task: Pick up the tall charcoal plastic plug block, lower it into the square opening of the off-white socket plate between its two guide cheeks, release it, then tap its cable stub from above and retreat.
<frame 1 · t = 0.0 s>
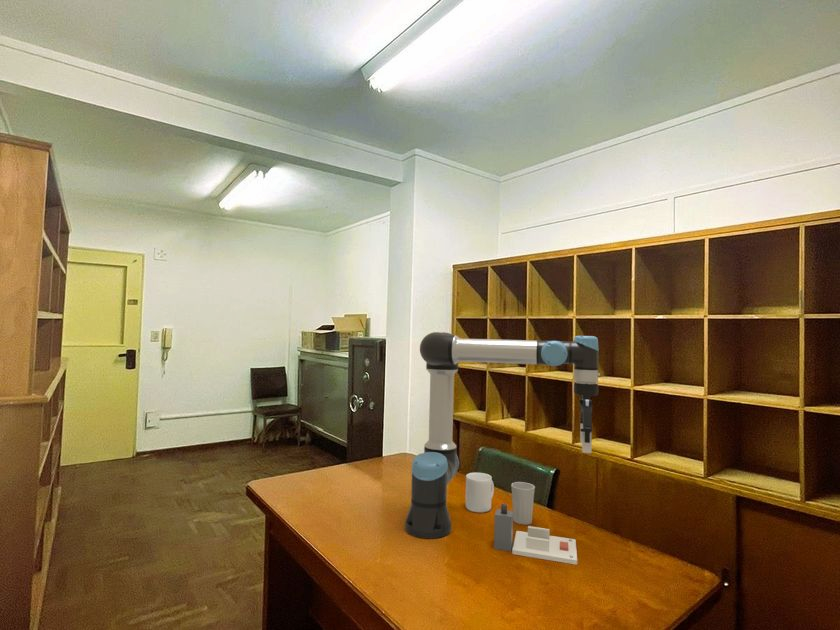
hand: (585, 447, 147), 28 cm above the table, fingers open, 13 cm apart
plug: (503, 546, 136), on the table
socket: (544, 548, 135), on the table
cup: (522, 521, 156), on the table
mug: (480, 507, 167), on the table
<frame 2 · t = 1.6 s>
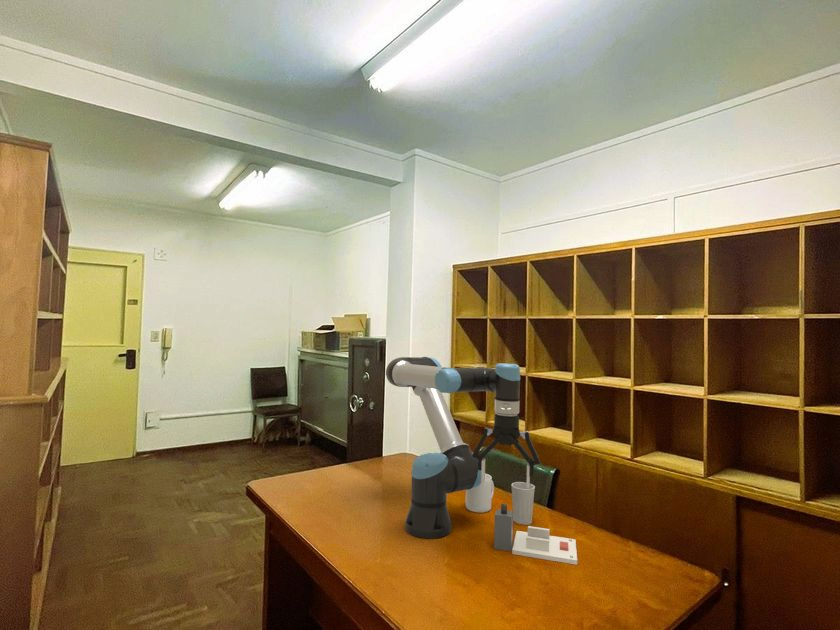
hand: (505, 483, 137), 19 cm above the table, fingers open, 13 cm apart
nothing on the table moved.
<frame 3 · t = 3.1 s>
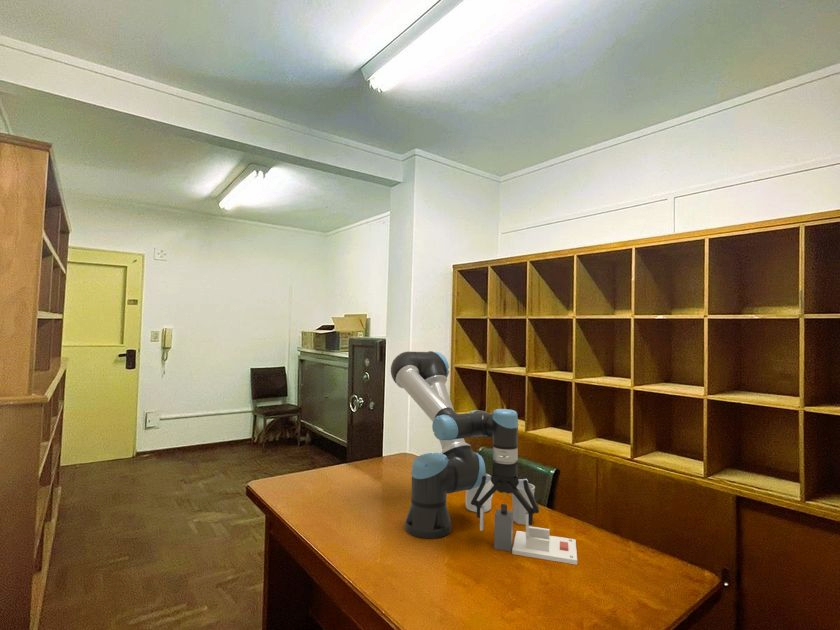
hand: (504, 532, 136), 4 cm above the table, fingers open, 13 cm apart
nothing on the table moved.
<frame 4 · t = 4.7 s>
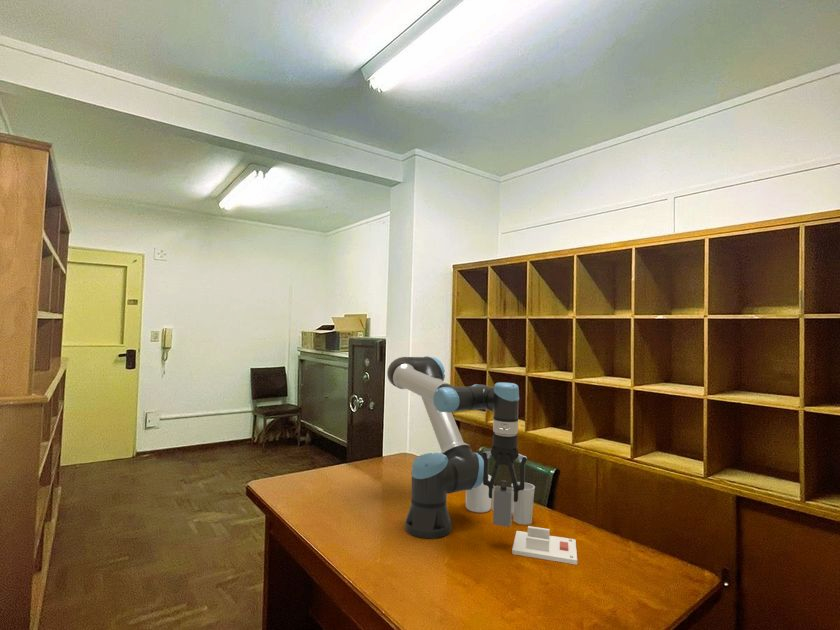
hand: (502, 510, 137), 11 cm above the table, fingers closed on plug, 5 cm apart
plug: (502, 522, 137), point 7 cm above the table, touching gripper
everything else where it was.
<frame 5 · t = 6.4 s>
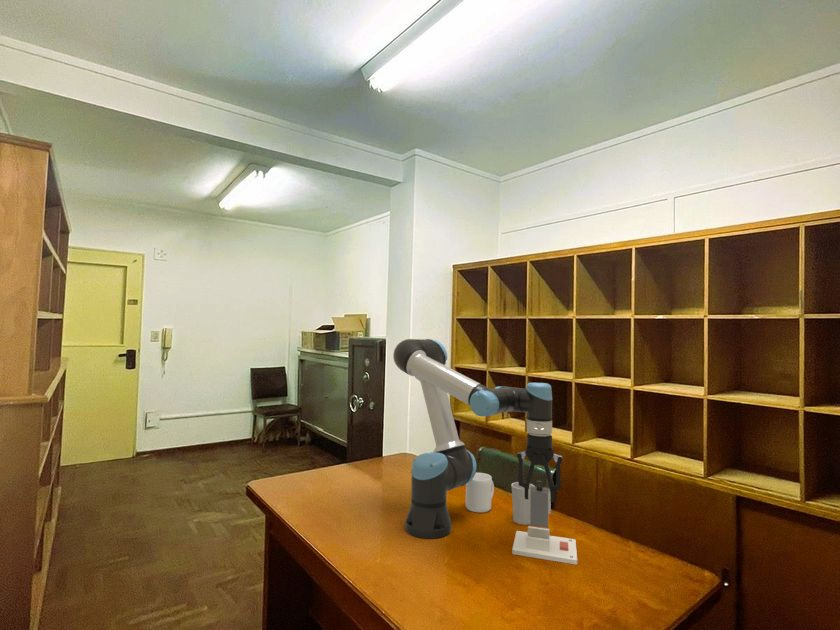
hand: (539, 511, 136), 11 cm above the table, fingers closed on plug, 5 cm apart
plug: (539, 523, 136), point 7 cm above the table, touching gripper
everything else where it was.
when the fingers open (3 cm above the table, at t = 8.0 s): plug stays where it is, resting in socket.
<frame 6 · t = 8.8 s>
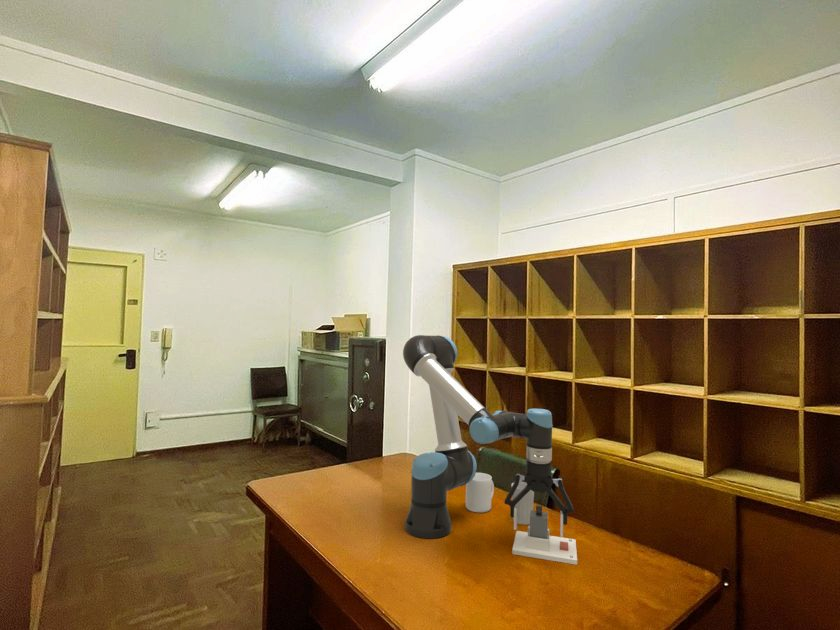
hand: (538, 531, 136), 5 cm above the table, fingers open, 13 cm apart
plug: (538, 548, 136), resting in socket
everything else where it was.
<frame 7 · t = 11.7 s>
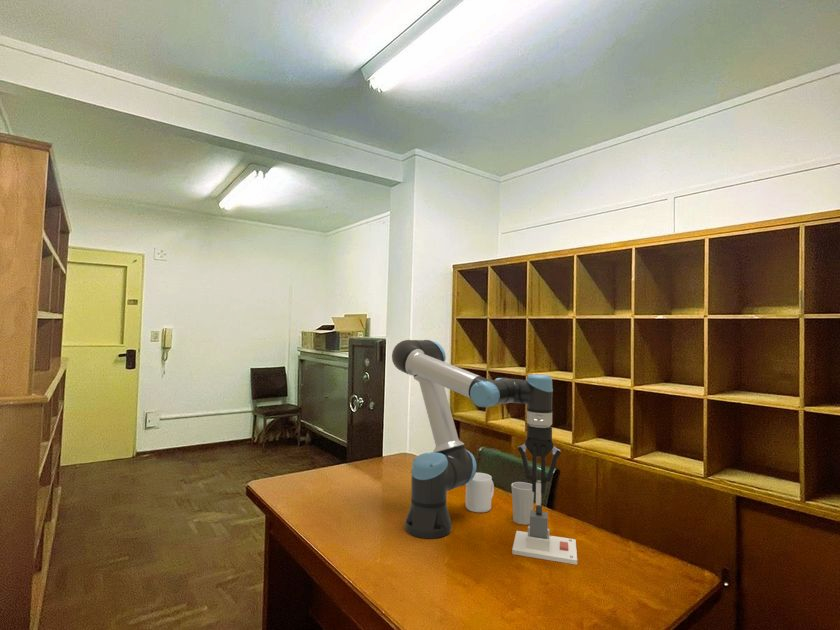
hand: (538, 503, 137), 13 cm above the table, fingers closed
nothing on the table moved.
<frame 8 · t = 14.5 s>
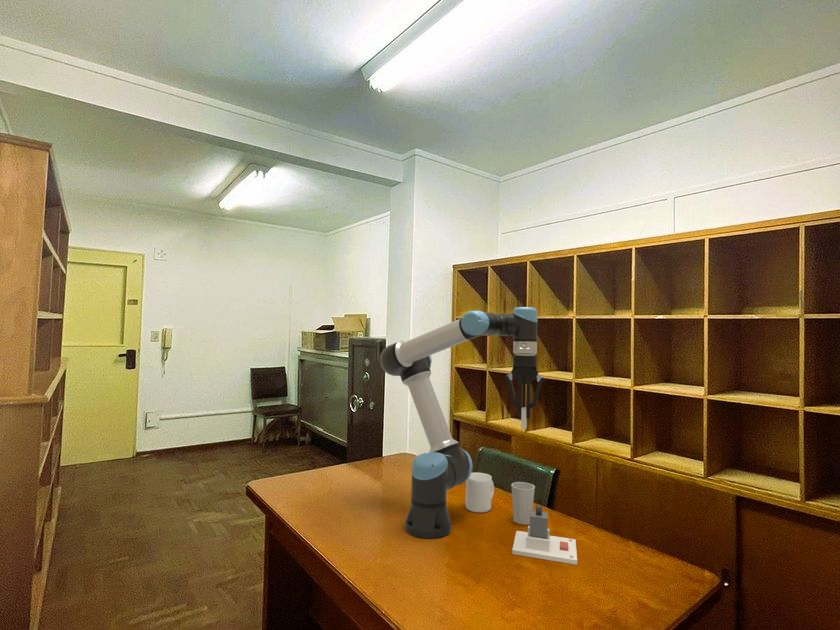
hand: (523, 428, 144), 34 cm above the table, fingers closed
nothing on the table moved.
at the end: plug 0.4 cm from the target spot on the socket, point 0.0 cm above the socket's base; plug tilted 0°; the gripper is holding nothing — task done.
